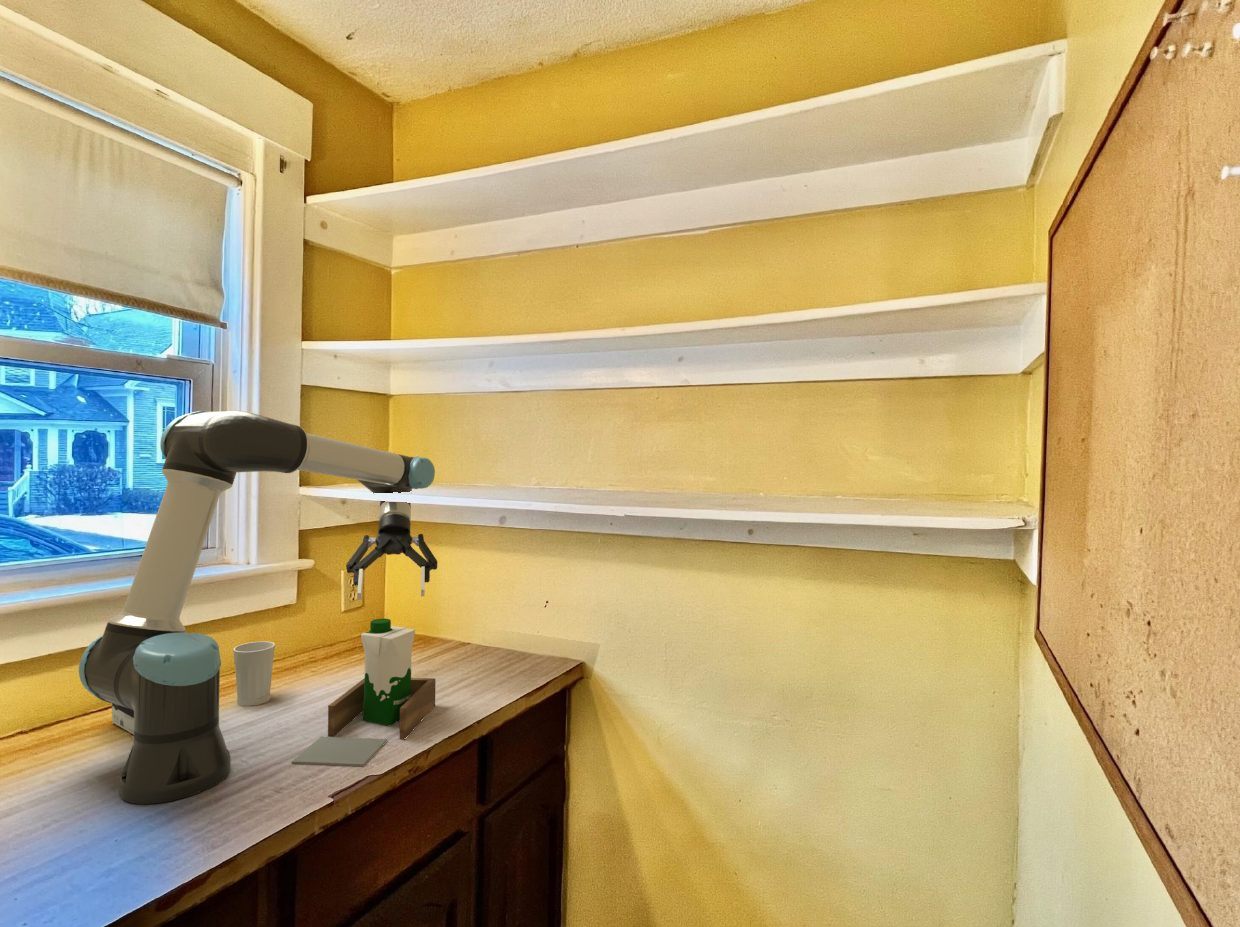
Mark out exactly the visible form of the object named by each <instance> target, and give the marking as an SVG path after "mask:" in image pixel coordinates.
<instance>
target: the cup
mask: <svg viewBox="0 0 1240 927" xmlns="http://www.w3.org/2000/svg"><path fill="white" fill-rule="evenodd" d="M275 648H276V643H275V642H272V641H268V640H267V641H266V640H265V641H251V642H246V643H242V644H239V645H236V646H234V647H233V650H232V651H233V659H234V669H235V671H234V672H235V684H236V696H237V697H236V705H238V706H241V707H251V706H252V705H253V706H257V705H263V704H265V703H267V702H269V701H270V699H271V689H272V688H271V687H272V675H273V665H274V664H273V663H274V656H275V655H274V654H275ZM266 701H267V702H266ZM253 706H252V707H253Z"/></svg>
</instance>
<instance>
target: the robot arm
mask: <svg viewBox="0 0 1240 927" xmlns="http://www.w3.org/2000/svg"><path fill="white" fill-rule="evenodd" d="M159 444H160V451H161V453H162V454H163V458H164V460H165V461H164V463H163V466H162V468H161V473H162V474H163V476H164V478H165V479H166V481H167V485H166V488H165V489H164V493H163V496H162V499H161V501H160V504H159V507H158V511H157V514H156V516H155V519H154V522H153V524H152V527H151V530H150V533H149V536H148V538H147V541H146V544H145V547H144V549H143V553H142V556H141V559H140V561H139V564H138V568H137V570H136V573H135V576H134V578H133V580H132V582H131V583H132V584H131V586H130V590H129V593H128V595H127V598H126V600H125V604H124V606H123V609H122V611H121V612H120V613H118V614H117V615H115V616H113V617H111V618H110V619H108V621H107V623H106V626H105V629H104V632H103V634H102V635H100V636H98V638H97V639H96V640H93V641H92V642H91V643H90V644H89V645H88V646H87V647H86V648H85V650H84V651H83V654H82V656H81V657H80V661H79V664H78V676H79V679H80V682H81V685H82V686H83V687H84V689H86V691H87V692H88V693H90V694H92V695H93V696H94V697H95V698H97V699H98V700H100V701H103V702H106V703H109V704H112V703H114V704H117V705H120V706H123V707H126V708H129V709H132V710H134V735H133V744H132V746H131V749H130V752H129V753H128V757H127V760H126V761H125V765H124V768H123V770H122V773H121V775H120V777H119V797H120V798H121V800H123V801H125V802H128V803H131V804H136V805H137V804H139V805H151V804H159V803H167V802H172V801H177V800H180V799H184V798H188V797H190V796H194V795H196V794H199V793H201V792H204V791H206V790H208V789H210V788H212V787H214V786H216V785H218V784H219V783H220V782H221V781H223V780H224V779H225V778H227V776H228V775H229V773H230V772H231V760H232V759H231V753H230V752H229V750H228V747H227V745H226V742H225V738H224V736H223V733H222V730H221V728H220V680H221V679H220V678H221V676H220V675H221V669H220V668H221V665H222V660H221V654H220V647H219V646H220V645H219V643H218V642H217V640H215V639H214V638H213V637H211V636H209V635H206V634H203V633H199V632H190V633H187V632H186V627H185V626H184V624H183V623H182V621H181V619H180V618H181V614H182V610H183V608H184V605H185V601H186V599H187V596H188V592H189V590H190V586H191V583H192V581H193V577H194V575H195V572H196V568H197V566H198V565H197V564H198V562H199V559H200V556H201V553H202V550H203V548H204V544H205V540H206V538H207V535H208V533H209V532H208V531H209V529H210V526H211V522H212V519H213V516H214V513H215V510H216V508H217V504H218V502H219V498H220V495H221V494H222V493H223V492H226V491H227V490H229V489H231V488H232V487H233V485H234V483H235V482H234V481H235V478H236V475H237V473H252V472H253V473H254V472H255V473H256V472H273V473H281V474H282V473H283V474H292V473H294V472H297V471H302V472H307V473H315V474H321V475H324V476H325V475H327V476H332V477H339V478H345V479H351V480H356V481H358V482H359V483H360V484H361V485H363V487H365V488H367V489H368V490H369V491H370V492H371V493H372V492H373V493H372V494H374V493H393V492H398V493H401V492H410V491H412V492H413V489H414V490H419V489H421V490H422V489H423V490H424V489H426V488H427V489H428V487H430V486H431V485H432V484H433V482H434V480H435V475H436V474H435V473H436V470H435V466H434V463H433V462H432V461H431V460H430V459H429V458H427V457H421V456H409V455H404V454H398V453H395V452H390V451H387V450H382V449H377V448H373V447H369V446H364V445H360V444H356V443H350V442H346V441H343V440H339V439H333V438H329V437H325V436H321V435H317V434H312V433H307V432H306V430H305V429H304V428H303V427H301V426H300V425H296V424H293V423H288V422H286V421H281V420H278V419H274V418H271V417H268V416H263V415H261V414H257V413H253V412H249V411H244V410H243V411H241V410H227V411H225V410H224V411H210V410H198V411H193V412H190V413H186V414H183V415H181V416H178V417H176V418H174V419H173V420H172V421H171V422H169V424H168V425H167V426H166V427H165V428H164V430H163V432H162V434H161V437H160V443H159ZM379 501H380V500H379ZM411 504H412V503H407V502H385V501H380V502H379V510H378V511H379V515H378V529H377V536H375V537H370V535H368V534H365V535H364V536H363V539H362V542H361V544H360V545H359V546H358V548H357V549H356V550H355V552H354V553H353V554H352V556H351V557H350V559H349V560H348V561H347V563H346V564H345V568H346V573H347V574H353V577H352V578H353V579H352V581H353V585H354V587H355V586H357V592H356V596H357V600H358V601H359V600H363V599H362V597H363V586H364V575H365V574H364V571H365V570H366V569H368V568H369V567H370V566H371V565H372V564H373V563H374V562H375V561H376V560H378V559H379V558H381V557H382V556H384V555H385V554H386V555H387V556H390V555H396V556H397V555H401V554H403V555H404V556H405V557H408V558H409V559H410V560H412V562H413V563H415V564H416V565H417V566H418V567H419V568H420V569H421V572H420V574H421V575H420V577H421V578H420V597H425V592H426V591H425V584H426V583H430V580H431V579H430V578H431V576H430V574H431V571H432V570H434V571H435V570H438V560H437V558H436V557H435V555H434V553H433V552H432V551H431V549H430V547H429V546H428V544H427V543H426V541H425V539H424V534H422V533H419V534H418V535H417V536H411V516H412V511H411V510H412V505H411ZM413 543H414V545H415V546H416V547H418V549H419V550H420V552H421V553H419V552H418V551H417V550H415V549H414V548H413V547H412V544H413ZM374 544H375V547H374V548H373V549H372V550H371V551H370V552H369V553H368V554H366V553H367V552H368V550H369V548H371V547H372V546H373V545H374ZM421 554H422V555H423V556H422V555H421Z"/></svg>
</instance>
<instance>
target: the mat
mask: <svg viewBox="0 0 1240 927" xmlns="http://www.w3.org/2000/svg"><path fill="white" fill-rule="evenodd" d="M386 741H387V742H388V739H387V738H371V737H370V738H369V737H367V738H366V737H347V736H346V737H339V736H334V737H329V736H320V737H319V738H317V739H316V740H315V741H314V742H312V744H311V745H309V746H308V747H307V748H306V749H304V750H303V751H301V753H299V755H297V756H296V757H295V758H294V759H293V760H291V762H290V763H291V764H292V765H293V764H294V765H313V766H315V765H319V766H340V767H342V766H343V767H361V766H363V767H364V766H365V765H366V764H367V763H368V762H369V761H370V760H371V759H372V758H373V757H374V756H375V755H374V754H375V753H376V752H377V753H378V751H380V750H381V748H382V747H383V746H384V745H385V744H386V743H387V742H386ZM385 742H386V743H385ZM384 743H385V744H384ZM383 744H384V745H383ZM377 753H376V754H377ZM373 755H374V756H373ZM372 756H373V757H372ZM371 757H372V758H371ZM370 758H371V759H370Z"/></svg>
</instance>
